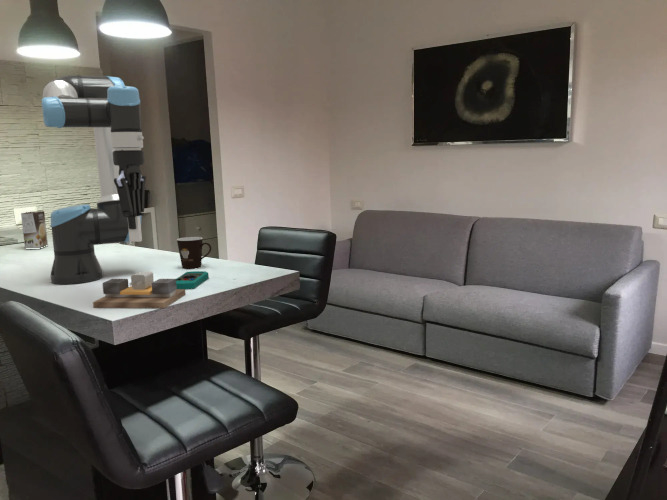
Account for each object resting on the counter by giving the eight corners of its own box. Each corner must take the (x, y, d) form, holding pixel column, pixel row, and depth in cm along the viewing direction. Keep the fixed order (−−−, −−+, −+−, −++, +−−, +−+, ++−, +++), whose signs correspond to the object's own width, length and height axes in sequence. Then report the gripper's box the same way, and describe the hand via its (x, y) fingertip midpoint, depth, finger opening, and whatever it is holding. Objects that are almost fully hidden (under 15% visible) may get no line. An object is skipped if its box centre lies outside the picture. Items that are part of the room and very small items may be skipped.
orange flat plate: (120, 294, 144) (119, 291, 144) (131, 289, 150) (130, 286, 150) (150, 294, 143) (149, 291, 143) (159, 289, 149) (159, 286, 149)
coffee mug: (174, 267, 191) (171, 239, 190) (195, 263, 197) (193, 236, 196) (192, 272, 183) (190, 242, 182) (214, 267, 190) (212, 238, 188)
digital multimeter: (169, 291, 159) (168, 281, 159) (186, 279, 174) (185, 270, 173) (193, 291, 159) (193, 281, 158) (209, 279, 173) (208, 270, 173)
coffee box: (40, 249, 240) (35, 212, 237) (24, 250, 239) (20, 213, 237) (48, 246, 249) (44, 210, 246) (33, 246, 248) (29, 211, 246)
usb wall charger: (153, 285, 150) (152, 271, 149) (141, 292, 143) (140, 277, 142) (140, 285, 150) (138, 271, 150) (126, 291, 143) (125, 276, 143)
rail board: (93, 307, 141) (91, 286, 140) (120, 294, 155) (118, 275, 154) (164, 308, 139) (162, 287, 138) (185, 294, 153) (184, 275, 152)
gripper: (129, 149, 134) (137, 245, 138) (153, 149, 146) (160, 237, 151) (100, 150, 134) (109, 245, 139) (126, 149, 147) (133, 237, 151)
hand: (135, 241), depth 145 cm, fingers closed
